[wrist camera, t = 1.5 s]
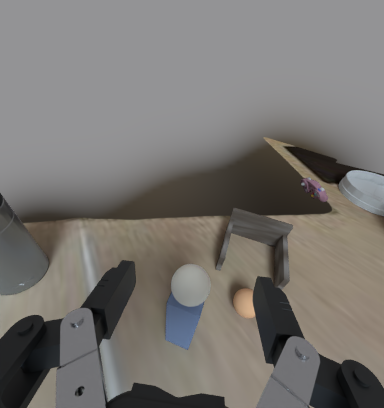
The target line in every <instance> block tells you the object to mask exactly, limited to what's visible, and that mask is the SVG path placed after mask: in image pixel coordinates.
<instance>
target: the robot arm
mask: <svg viewBox="0 0 384 408" xmlns="http://www.w3.org/2000/svg"><path fill="white" fill-rule="evenodd" d="M48 265H49V260H48V258H47V256H46V255H45V254H44V252H43V251H42V249H41V248H40V247H39V245H38V244H37V242H36V241H35V240H34V238H33V237H32V236H31V234H30V233H29V232H28V230H27V229H26V227H25V226H24V225H23V223H22V222H21V221H20V219H19V218H18V217H17V215H16V214H15V212H14V211H13V210H12V209H11V207H10V206H9V205H8V203H7V202H6V200H5V199H4V198H3V196H2V195H1V193H0V294H1V295H12V294H16V293H20V292H22V291H24V290H26V289H28V288H30V287H32V286H33V285H34V284H36V283H37V282H38V281H39V280H40V279H41V278H42V277H43V276H44V274H45V273H46V271H47V269H48ZM135 283H136V275H135V263H134V262H133V261H124V260H122V261H121V262H120V264H119V265H118V267H117V268H111V269H110V270H109V271H107V272H106V273H105V274H104V276H103V277H102V278H101V281H99V283H98V284H97V286H96V287H95V288H94V290H93V291H92V292H91V294H90V295H89V296H88V298H87V299H86V301H85V302H84V303H83V305H82V306H81V307H80V308H79V309H76V310H73V311H72V312H70V313H69V314H67V315H66V316H65V317H64V318H63V319H58V320H52V321H46V322H44V319H43V317H41V316H39V315H31V316H28V317H25V318H23V319H21V320H19V321H18V322H17V323H15V324H14V325H13V326H12V327H11V328H10V329H9V330H8V331H7V332H6V333H5V334H4V336H3V337H2V338H1V339H0V408H27V406H28V405H29V403H30V401H31V400H32V398H33V397H34V395H35V393H36V392H37V390H38V388H39V387H40V385H41V383H42V382H43V380H44V379H45V377H46V375H47V374H48V372H49V370H50V369H51V368H54V367H58V368H57V374H56V408H228V407H226V406H225V401H224V397H221V396H214V395H208V394H202V393H201V394H196V395H190V396H185V397H179V398H178V397H175V396H173V395H171V394H169V393H167V392H165V391H164V390H162V389H160V388H158V387H156V386H152V385H146V384H139V383H134V384H133V387H132V390H131V391H127V392H125V393H122V394H120V395H118V396H116V397H114V398H113V399H111V400H110V401H109V402H108V397H107V392H106V386H105V380H104V374H103V368H102V361H101V355H100V348H99V345H100V343H101V341H102V339H110V338H111V336H112V333H113V331H114V329H115V327H116V325H117V323H118V321H119V319H120V317H121V315H122V313H123V310H124V308H125V306H126V304H127V302H128V300H129V298H130V296H131V294H132V292H133V290H134V287H135ZM253 307H254V311H255V316H256V320H257V325H258V329H259V333H260V338H261V342H262V347H263V351H264V356H265V360H266V363H269V364H273V365H274V370H273V373H272V374H271V376H270V378H269V380H268V382H267V384H266V387H265V389H264V391H263V393H262V395H261V398H260V400H259V402H258V404H257V406H256V408H310V407H309V405H311V406H312V407H314V408H384V388H383V386H382V385H381V383H380V382H379V380H378V379H377V377H376V376H375V375H374V374H373V373H372V372H371V371H370V370H369V369H368V368H366V367H365V366H364V365H362V364H360V363H359V362H356V361H354V360H345V361H343V363H342V364H339V363H337V362H335V361H333V360H330V359H328V358H326V357H324V356H322V355H320V354H319V353H318V352H317V351H316V349H315V348H314V347H313V346H312V345H311V344H310V343H309V342H308V341H307V340H305V338H304V336H303V334H302V331H301V329H300V327H299V324H298V322H297V320H296V317H295V315H294V313H293V311H292V308H291V306H290V305H289V301H288V299H287V297H286V295H285V293H284V292H283V291H282V290H281V289H280V288H278V287H274V285H273V282H272V280H271V278H268V277H260V276H258V277H257V279H256V283H255V287H254V291H253ZM59 366H60V367H59Z"/></svg>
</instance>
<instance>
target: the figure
mask: <svg viewBox="0 0 384 408" xmlns="http://www.w3.org/2000/svg"><path fill="white" fill-rule="evenodd" d="M210 288H211V283H210V278H209V276H208V274H207V272H206V271H205V270H204V269H203V268H202V267H200V266H199V265H196V264H186V265H183V266H181V267H180V268H179V269H178V270H177V271H176V272H175V273H174V275H173V277H172V281H171V290H172V292H171V294H170V296H169V299H168V301H167V309H166V340H167V341H169V342H171V343H174V344H176V345H178V346H180V347H182V348H185V349H187V350H188V348H189V345H190V342H191V340H192V337H193V334H194V332H195V329H196V326H197V324H198V321H199V318H200V315H201V312H202V308H203V305H204V301H205V300H206V298H207V297H208V295H209V292H210Z"/></svg>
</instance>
